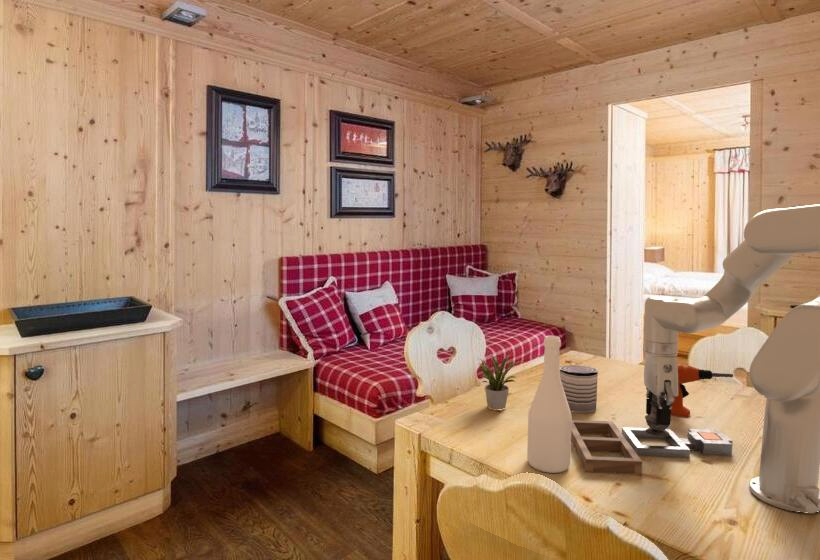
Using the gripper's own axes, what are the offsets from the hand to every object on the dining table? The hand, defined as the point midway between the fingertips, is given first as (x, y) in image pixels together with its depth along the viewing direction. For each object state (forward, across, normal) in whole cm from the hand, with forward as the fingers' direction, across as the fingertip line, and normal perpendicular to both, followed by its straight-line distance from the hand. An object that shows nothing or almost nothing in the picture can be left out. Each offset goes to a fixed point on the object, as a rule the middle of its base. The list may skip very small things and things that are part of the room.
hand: (657, 418), depth 127 cm
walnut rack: (+7, -3, +14) cm, 16 cm away
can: (+7, +27, +14) cm, 31 cm away
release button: (+7, +1, -13) cm, 14 cm away
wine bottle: (+7, -12, +28) cm, 31 cm away
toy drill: (+7, +22, -18) cm, 29 cm away
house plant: (+7, +24, +36) cm, 44 cm away
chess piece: (+4, 0, 0) cm, 4 cm away
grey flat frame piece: (+7, +1, -5) cm, 9 cm away
